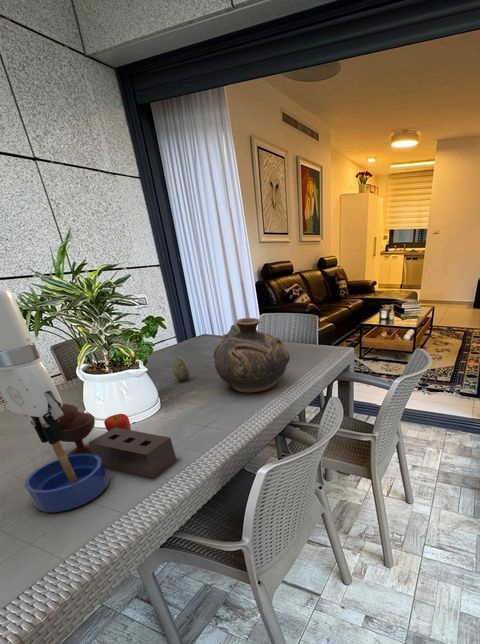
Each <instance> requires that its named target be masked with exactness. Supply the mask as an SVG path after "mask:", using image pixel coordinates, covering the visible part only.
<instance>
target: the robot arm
mask: <svg viewBox="0 0 480 644" xmlns="http://www.w3.org/2000/svg"><path fill="white" fill-rule="evenodd" d="M0 394H1V396H2V398H3V401H4V403H5V405H6V406H7V408H8V410H9V411H10V412H12V413H14V414H19V415H24V416H25V417H27V419H28V421H29V423H30V424H31V426H33V428H34V430H35V432H36V434H37V436H38V438H39V440H40V442H41V443H43V444H46V443H48V444H49V445H51V444H52V445H53V444H55V443H57V442H59V441H60V442H62V441H61V440H63V439H64V438H65V434H64V432H63V430H62V428H61V426H60V423H59V422H60V420H59V418H60V417H63V416H64V413H63V412H62V411H61V409H60V408H62V404H63V401H62V399H61V396H60V393H59V391H58V389H57V387H56V385H55V383H54V381H53V379H52V378H51V375H50V373H49V372H48V370H47V369H46V367H45V365H44V364H43V362H42V356H41V355H40V352H39V351H38V348H37V346H36V344H35V341H34V339H33V337H32V334H31V332H30V330H29V327H28V325H27V323H26V321H25V318H24V316H23V313H22V312H21V309H20V307H19V305H18V303H17V300H16V298H15V296H14V294H13V291H11V289H10V288H9V287H7V286H6V285H4V284H0ZM49 414H51V415H49ZM45 416H47V418H46V417H45ZM39 418H40V420H41V423H42V425H43V426H44V427H42V425H41V423H40V421H39ZM52 445H51V446H52Z"/></svg>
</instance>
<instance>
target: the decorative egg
mask: <svg viewBox="0 0 480 644" xmlns="http://www.w3.org/2000/svg"><path fill="white" fill-rule="evenodd" d="M172 366H173V367H172V371H173V375H174V377H175V378H176V379H177V380H178V381H180V382H185V381H187V380H188V379H189V377H190V373H191V372H190V369H189V365H188V364H187V361H186V360H185V359H184V358H183V357H181V356H175V358H174V361H173V365H172Z"/></svg>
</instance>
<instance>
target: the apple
mask: <svg viewBox="0 0 480 644" xmlns="http://www.w3.org/2000/svg"><path fill="white" fill-rule="evenodd" d="M103 423H104V427H105V429H106V432H108V431H110V430H111V429H113V428H115V427H116V428H121V429H127V430H131V426H132V425H131V422H130V418H129V417H128V415H127V414H125V413H117V414H113V415H110V416H108V417H106V418H105V419H104V421H103Z"/></svg>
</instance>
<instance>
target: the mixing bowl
mask: <svg viewBox="0 0 480 644" xmlns="http://www.w3.org/2000/svg"><path fill="white" fill-rule="evenodd" d="M66 456H67V458H68V460H69V462H70V464H71V466H72V468H73V471H74V473H75V475H76V477H77V479H78V481H77V482H75V483H73V484H70V482H69V480H68V478H67V476H66V474H65V472H64V470H63V468H62V466H61V464H60V462H59V460H58V458H56V459H53V460H51V461H48V462H47V463H45V464H43V465H42V466H40V467H37V468H36V469H35V470H33V471H32V472H31V473H30V474H29V475H28V476H27V477H26V479H25V481H24V488H25V490H26V492H27V493H28V495H29V497H30V499H31V501H32V502H33V504H34V506H35V507H36V508H37V510H38V511H40V512H41V511H42V512H45V513H59V512H64V511H69V510H72V509H75V508H78V507H81V506H83V505H85V504H87V503H89V502H91V501H92V500H94V499H96V498H97V497H98V496H100V495H102V493H103V492H104V491H105V490H106V489H107V487H108V485H109V482H110V479H109V475H108V472H107V470H106V467H104V465H103V463H102V460H101V458H100V457H98V456H97V455H94V454H93V453H91V454H75V455H72V454H69V455H66Z"/></svg>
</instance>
